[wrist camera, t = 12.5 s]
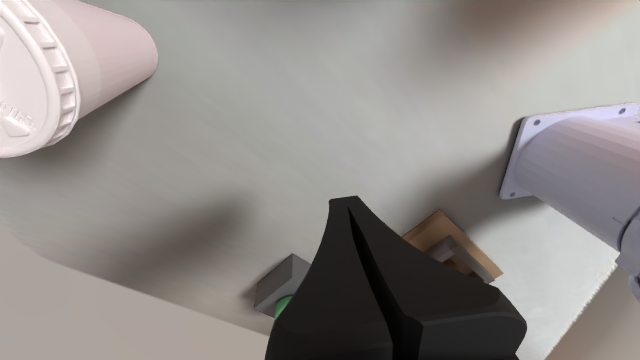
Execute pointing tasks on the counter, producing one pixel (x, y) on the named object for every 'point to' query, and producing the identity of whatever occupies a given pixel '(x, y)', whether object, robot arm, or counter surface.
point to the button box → (280, 284)
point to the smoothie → (63, 67)
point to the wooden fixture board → (452, 247)
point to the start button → (281, 305)
